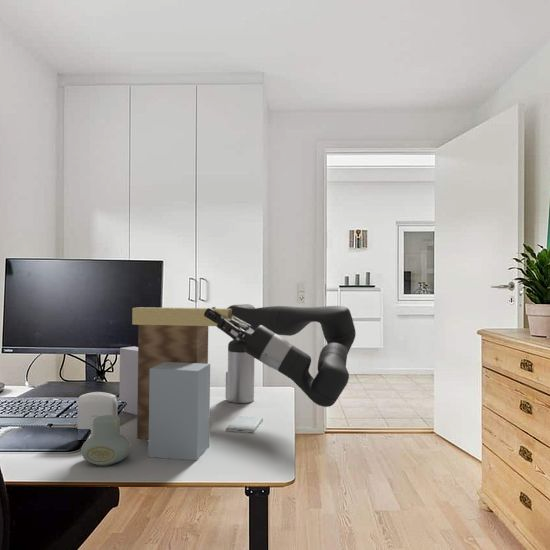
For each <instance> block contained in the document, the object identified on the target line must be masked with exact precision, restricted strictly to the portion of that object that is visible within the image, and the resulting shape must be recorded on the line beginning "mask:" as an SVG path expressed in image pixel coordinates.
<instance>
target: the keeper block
mask: <svg viewBox="0 0 550 550" xmlns="http://www.w3.org/2000/svg"><path fill="white" fill-rule="evenodd" d="M210 398H211V363H208V364H203V363H179V362H164V363H161V364H159V365H157V366H155V367H153V368H150V381H149V441H148V458H154V457H156V458H157V457H159V458H157V459H168V458H172V459H171V460H182V459H184V460H183V461H185V460H186V461H196V460H197V461H198V460H199V459H200V458H201V457H202V456H203V454H204V453H205V452H206V451H207V450H208V449H209V448H210V419H211V418H210V411H211V410H210V409H211V407H210V405H211V403H210V402H211V399H210ZM207 448H208V449H207ZM206 449H207V450H206ZM205 450H206V451H205ZM201 455H202V456H201ZM200 456H201V457H200ZM199 457H200V458H199Z"/></svg>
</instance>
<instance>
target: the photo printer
mask: <svg viewBox="0 0 550 550" xmlns="http://www.w3.org/2000/svg"><path fill="white" fill-rule="evenodd" d="M77 399H78V400H77V412H76V413H77V414H76V415H77V417H76V418H77V428H76V429H90V430H91V436H90V437H92V436H93V420H94V419H95V418H96V417H99V416H105V415H114V416H118V399H117V395H115V394H112V393H109V392H105V391H103V392H102V391H92V392H87V393H84V394H81V395H80V396H79V397H78V398H77Z"/></svg>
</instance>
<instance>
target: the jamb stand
mask: <svg viewBox="0 0 550 550" xmlns="http://www.w3.org/2000/svg"><path fill="white" fill-rule="evenodd" d="M137 338H138V341H137V343H138V345H137V347H138V400H137V415H136V417H137V418H136V419H137V420H136V421H137V422H136V425H137V426H136V440H137V441H148V442H149V381H150V368H153V367H155V366H157V365H159V364H161V363H164V362H179V363H203V364H209V326H181V325H138V335H137Z"/></svg>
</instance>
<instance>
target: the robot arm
mask: <svg viewBox="0 0 550 550" xmlns="http://www.w3.org/2000/svg"><path fill="white" fill-rule="evenodd" d="M211 308H217V307H216V306H213V307H207V310H206V311H205V313H204V316H205V317H207V318H208V319H210V320H211V321H213V322H215V323H217V324H216V325H217V326H216V328H218V329H219V330H220V331H222V332H223V333H225V334H226V335H227V336H229V337H230V338H232V340H230V341H229V342H228V343H227V344H228V345H227V371H226V372H225V400H226V401H228V402H229V403H233V404H246V403H252V402H254V400H255V359H256V360H257V361H259V362H261V363H263V364H264V365H265V366H267V367H269V368H271V369H273V370H275V371H277V372H279V373H280V374H282V375H284V376H285V377H287V378H288V379H290V380H291V381H292V382H293V383H295V385H296V386H297V387H298V388H299V389H301V391H302V392H303V393H304V394H305V395H306V397H308V398H309V399H310V400H311V401H312V402H313V403H314V404H315V405H318V406H320V407H324V408H330V407H331V406H333V405H334V404H335V403H336V402H337V400H338V399H339V397H340V395H341V394H342V393H343V391H344V390H345V388H346V387H347V385H348V382H349V379H350V374H349V373H350V372H349V371H348V369H347V360H348V354H349V352H350V350H351V348H352V346H353V344H354V342H355V339H356V336H357V335H356V327H355V323H354V320H353V317H352V313H351V310H350V308H348V307H346V306H344V305H325V306H311V307H310V306H309V307H307V306H306V307H305V306H304V307H303V306H290V305H289V306H288V305H287V306H286V305H276V306H274V305H272V306H271V305H270V306H264V307H262V306H261V307H255V306H254V305H252V304H249V303H247V304H244V303H243V304H232V305H230V306H228V307H227V308H226V309H232V319H227V318H226V317H225V316H222V315H220V314H219V313H217V312H215V311H214V310H212V309H211ZM315 322H316V323H319V324H320V326H321V327H320V328H321V330H322V333H323V337H324V339H325V341H326V344H325V346H323V348H322V349H321V350H320V353H319V357H318V360H317V361H318V362H317V367H316V369H317V373H316V375H315V377H313V376H312V374H311V373H310V367H311V364H312V358H311V356H310V355H309V353H306V352H304V350H302V349H299V348H298V347H296V346H295V345H293V344H291V343H290V342H289V341H288V340H286V339H285V338H284V337H282V336H285V337H286V336H294V335H296V334H299V333H300V332H301V331H302V330H303V329H305V328H306V327H307V326H308V325H309V324H310V323H315ZM224 323H226V324H227V326H223V324H224Z"/></svg>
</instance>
